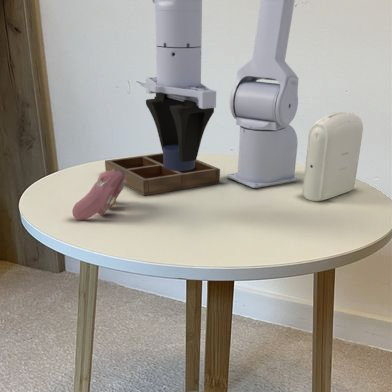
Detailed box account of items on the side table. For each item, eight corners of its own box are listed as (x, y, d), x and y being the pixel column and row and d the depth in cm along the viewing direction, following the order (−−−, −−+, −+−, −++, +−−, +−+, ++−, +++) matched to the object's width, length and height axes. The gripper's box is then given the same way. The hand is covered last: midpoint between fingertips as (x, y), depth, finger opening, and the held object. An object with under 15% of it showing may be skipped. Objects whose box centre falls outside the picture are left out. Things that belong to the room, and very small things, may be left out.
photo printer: (319, 203, 92) (330, 119, 86) (297, 197, 95) (306, 114, 88) (357, 191, 98) (370, 111, 92) (336, 185, 101) (346, 107, 94)
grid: (176, 164, 111) (176, 151, 110) (219, 183, 101) (220, 168, 100) (105, 174, 105) (104, 160, 104) (144, 195, 94) (143, 180, 93)
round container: (184, 161, 86) (184, 142, 84) (201, 168, 83) (201, 149, 81) (157, 165, 84) (157, 146, 82) (173, 172, 81) (173, 152, 79)
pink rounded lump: (97, 233, 84) (115, 190, 80) (68, 216, 84) (85, 173, 80) (118, 211, 92) (136, 171, 89) (92, 196, 92) (109, 155, 88)
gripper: (124, 42, 79) (129, 148, 86) (181, 52, 68) (181, 172, 75) (170, 40, 82) (171, 143, 89) (231, 50, 72) (227, 165, 79)
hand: (179, 156), depth 82 cm, fingers closed on round container, 4 cm apart
